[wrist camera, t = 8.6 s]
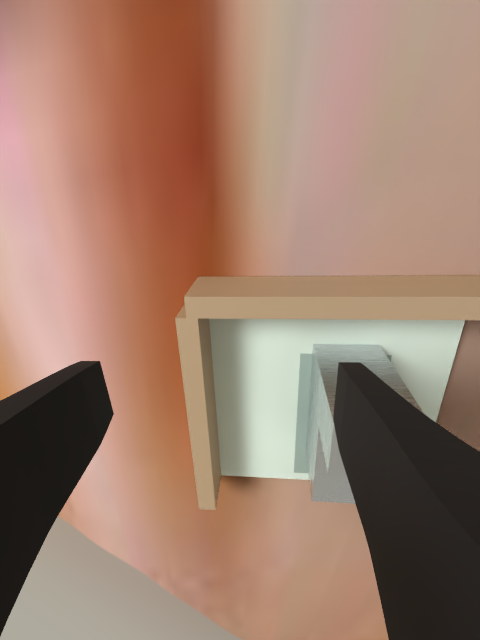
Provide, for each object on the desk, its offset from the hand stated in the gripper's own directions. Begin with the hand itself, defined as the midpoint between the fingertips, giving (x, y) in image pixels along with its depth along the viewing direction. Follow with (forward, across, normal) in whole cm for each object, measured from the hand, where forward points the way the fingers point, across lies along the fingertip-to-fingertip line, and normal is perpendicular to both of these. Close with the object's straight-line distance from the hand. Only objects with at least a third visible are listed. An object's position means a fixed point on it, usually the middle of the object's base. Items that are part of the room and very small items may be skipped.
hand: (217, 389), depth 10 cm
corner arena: (+10, -5, +8) cm, 14 cm away
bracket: (+10, -6, +8) cm, 14 cm away
